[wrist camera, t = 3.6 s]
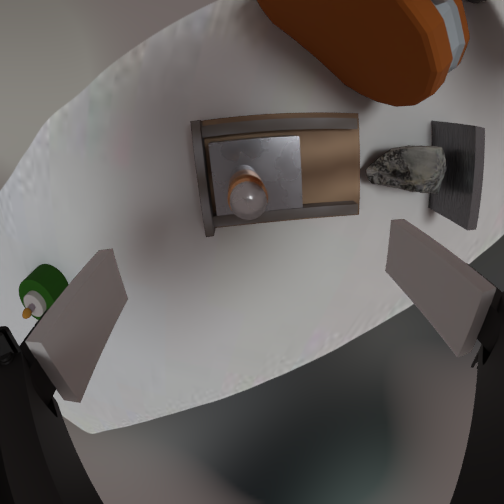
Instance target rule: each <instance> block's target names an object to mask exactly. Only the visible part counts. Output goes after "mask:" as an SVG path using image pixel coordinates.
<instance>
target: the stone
mask: <svg viewBox="0 0 504 504" xmlns="http://www.w3.org/2000/svg"><path fill="white" fill-rule="evenodd" d="M445 172H446V159H445V154H444V151H443V149H442V147H437V146H406V147H399V148H392V149H390V150H389V151H388V152H387V153H386V154H384V155H382V156H381V157H380V158H378V159H377V160H376V161H375V162H374V163H372V164H371V165H370V166H369V167H368V168H367V169H366V174H367V177H368V179H369V181H370V183H372V184H378V185H385V186H389V187H394V188H400V189H404V190H408V191H412V192H420V193H433V194H438V192H439V190H440V186H441V182H442V179H443V178H444V174H445Z"/></svg>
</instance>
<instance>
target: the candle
mask: <svg viewBox="0 0 504 504" xmlns="http://www.w3.org/2000/svg"><path fill="white" fill-rule="evenodd" d="M67 286H68V282H67V280H66V278H65V277H64V275H63V274H62V273H61V272H60V271H59V270H58V269H57V268H55V267H54V266H51V265H49V264H42V265H40V266H38V267H37V268H36V269H35V270H34V271H33V272H32V273H31V274H30V275H29V276H28V277H27V278H26V279H24V280H23V281H22V282H21V284H20V286H19V296H20V299H21V302H22V304H23V305H24V307H25V309H24V311H23V314H22V316H23V318H25V319H27V318H29V317H30V316H31V315H32V316H33V317H34V318H36V319H38V320H40V318H41V316H42V315H43V314H44V312H45V311H46V310H47V309H49V308H50V307H51V306H52V305H53V303H54V302H55V301H56V300H57V298H58V297H59V296H60V295H61V294H62V292H63V291H64V290H65V289H66V287H67Z"/></svg>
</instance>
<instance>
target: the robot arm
mask: <svg viewBox="0 0 504 504" xmlns="http://www.w3.org/2000/svg"><path fill="white" fill-rule="evenodd" d="M467 1H469V2H472V3H479V2H483V1H486V0H467ZM385 271H386V272H387V273H388V274H389V275H390V277H391V278H392V279H393V280H394V281H395V282H396V283H397V284H398V286H399V287H400V288H401V289H402V290H403V291H404V292H405V294H406V295H407V296H408V297H409V298H410V299H411V300H412V302H413V303H414V304H415V305H416V306H417V307H418V309H419V310H420V311H421V312H422V313H423V315H424V316H425V317H426V318H427V319H428V321H429V322H430V323H431V324H432V326H433V327H434V328H435V329H436V331H437V332H438V333H439V334H440V335H441V337H442V338H443V339H444V341H445V342H446V343H447V345H448V346H449V347H450V348H451V350H452V351H453V352H454V353H455V355H456V356H457V357H460V356H462V355H465V354H467V353H469V352H471V351H472V349H473V347H474V345H475V342H476V340H477V339H478V340H479V341H480V342H481V347H480V349H479V351H478V353H477V355H476V357H475V359H474V361H473V363H472V365H471V367H474V365H475V363H477V362H478V366H477V369H478V370H477V383H476V393H475V401H474V409H473V416H472V422H471V428H470V433H469V438H468V443H467V448H466V452H465V456H464V460H463V464H462V468H461V471H460V475H459V479H458V482H457V485H456V488H455V491H454V494H453V497H452V499H451V502H450V504H504V292H501V291H500V290H499V289H498V288H497V287H495V286H494V285H493V284H492V283H491V282H490V281H488V280H487V279H486V278H485V277H482V275H481V274H480V273H479V272H476V270H475V269H474V268H472V267H471V266H470V265H469V264H467V263H465V262H464V261H462V260H461V259H460V258H458V257H457V256H456V255H454V254H453V253H452V252H450V251H449V250H448V249H446V248H445V247H444V246H442V245H441V244H439V243H438V242H437V241H435V240H434V239H432V238H431V237H430V236H428V235H427V234H425V233H424V232H422V231H421V230H420V229H418V228H417V227H415V226H414V225H412V224H411V223H409V222H408V221H406V220H405V219H397V220H391V226H390V237H389V246H388V255H387V263H386V270H385ZM127 300H128V297H127V294H126V291H125V288H124V285H123V282H122V279H121V276H120V273H119V269H118V266H117V263H116V259H115V256H114V252H113V249H106V250H99V251H98V252H97V253H96V254H95V255H94V256H93V257H92V259H91V260H90V261H89V262H88V263H87V264H86V265H85V266H84V268H83V269H82V270H81V271H80V272H79V273H78V274H77V276H76V277H75V278H74V279H73V280H72V281H71V283H70V284H69V285H68V286H67V287H66V289H65V290H64V291H63V292H62V294H61V295H60V296H59V297H58V298H57V300H56V301H55V302H54V303H53V305H52V306H51V307H50V308H49V309H47V310H46V311H45V312H44V314H43V315H42V316H41V318H40V320H38V321H37V323H36V324H35V327H33V328H32V330H31V331H30V332H29V334H28V335H27V336H26V338H25V339H24V341H23V342H22V343H21V345H20V346H19V345H18V344H17V342H16V340H15V338H14V337H13V335H12V333H11V331H10V329H9V328H8V327H6V326H1V327H0V504H103V502H102V500H101V499H100V497H99V495H98V493H97V492H96V490H95V488H94V486H93V484H92V483H91V481H90V479H89V477H88V475H87V473H86V471H85V469H84V467H83V465H82V463H81V461H80V459H79V456H78V454H77V452H76V450H75V448H74V445H73V443H72V441H71V438H70V436H69V433H68V431H67V428H66V425H65V423H64V420H63V418H62V415H61V412H60V409H59V406H58V403H57V401H56V400H55V398H54V397H53V395H54V392H55V390H57V391H58V392H59V394H60V395H61V397H62V398H63V399H64V400H67V401H73V402H79V403H81V400H82V398H83V395H84V393H85V390H86V388H87V385H88V383H89V380H90V378H91V376H92V373H93V371H94V369H95V367H96V364H97V362H98V360H99V358H100V355H101V353H102V351H103V349H104V347H105V344H106V342H107V340H108V338H109V336H110V334H111V332H112V330H113V328H114V325H115V323H116V321H117V319H118V317H119V315H120V313H121V311H122V309H123V307H124V305H125V303H126V301H127Z"/></svg>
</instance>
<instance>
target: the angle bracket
mask: <svg viewBox="0 0 504 504" xmlns="http://www.w3.org/2000/svg"><path fill="white" fill-rule="evenodd" d="M432 146H437V147H442V149H443V151H444V154H445V159H446V172H445V174H444V178H443V179H442V182H441V186H440V190H439V192H438V194H433V193H430V197H429V208H430V209H432V210H434V211H435V212H437V213H439V214H441V215H442V216H444V217H446V218H448V219H449V220H451V221H453V222H454V223H456V224H458V225H459V226H461V227H463V228H464V229H466V230H474V229H476V227H477V221H478V214H479V207H480V200H481V191H482V181H483V169H484V148H485V128H482V127H477V126H471V125H464V124H457V123H448V122H438V121H432Z"/></svg>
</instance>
